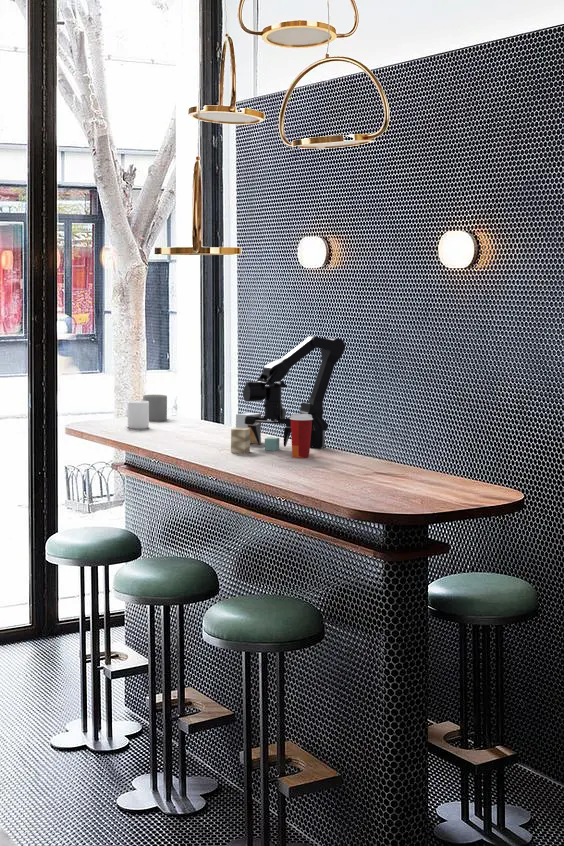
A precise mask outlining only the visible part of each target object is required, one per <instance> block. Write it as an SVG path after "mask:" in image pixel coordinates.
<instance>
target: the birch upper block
mask: <svg viewBox="0 0 564 846" xmlns="http://www.w3.org/2000/svg"><path fill="white" fill-rule="evenodd" d="M249 440H250V428H236V427H233V428H231V430H230V442H231V441H239V442H246V441H249Z"/></svg>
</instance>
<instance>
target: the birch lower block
mask: <svg viewBox="0 0 564 846" xmlns="http://www.w3.org/2000/svg"><path fill="white" fill-rule="evenodd" d="M250 451H251V443H250V440H249V441H246V442H239V441H231V440H230V453H231V452H233V454H244V453H245V454H248V453H250Z"/></svg>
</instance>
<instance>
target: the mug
mask: <svg viewBox="0 0 564 846" xmlns="http://www.w3.org/2000/svg"><path fill="white" fill-rule="evenodd" d="M126 418H127V428H128V429H132V430H133V429H134V430H142V429H143V430H144V429H148V428H149V425H150V421H149V402H148V401H141V400H128V401H127V408H126Z"/></svg>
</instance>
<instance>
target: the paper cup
mask: <svg viewBox="0 0 564 846" xmlns="http://www.w3.org/2000/svg"><path fill="white" fill-rule="evenodd" d="M290 417H291V418H289V419H291V434H290V436H291V455H292V458H296V459H308V458H310V450H311V447H310V441H311V430H312V420H313V418H312V415H310V414H300V413H293V414H291V415H290Z"/></svg>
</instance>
